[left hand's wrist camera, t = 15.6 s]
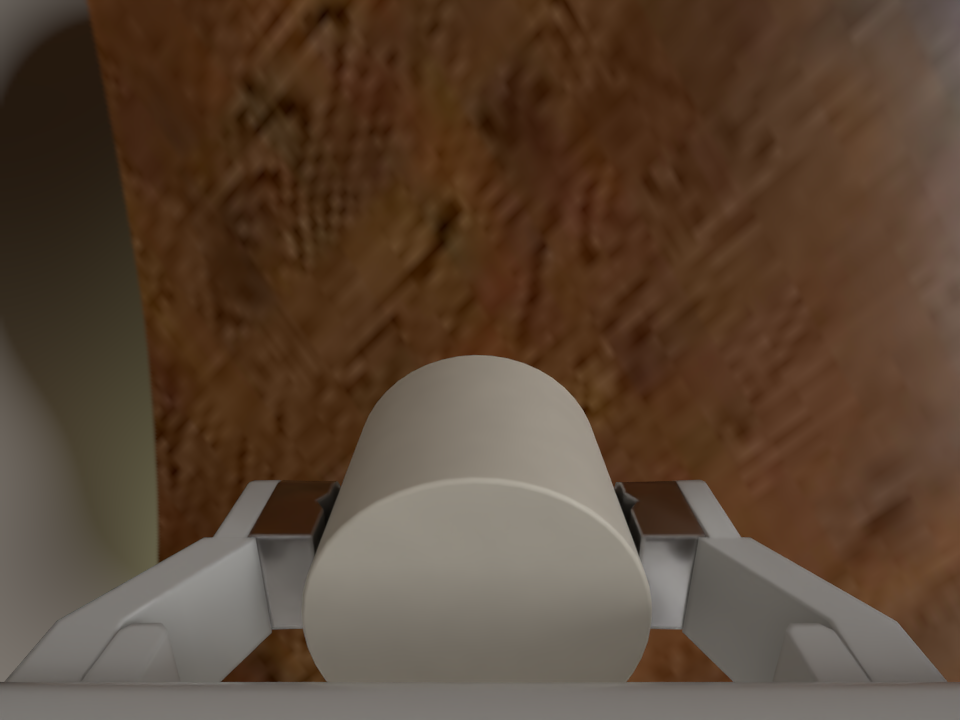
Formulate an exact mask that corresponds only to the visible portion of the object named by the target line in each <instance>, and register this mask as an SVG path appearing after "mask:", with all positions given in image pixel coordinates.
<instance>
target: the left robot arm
mask: <svg viewBox="0 0 960 720" xmlns="http://www.w3.org/2000/svg"><path fill="white" fill-rule="evenodd" d="M340 488H341V487H340V485H339V483H338V481H291V480H283V481H280V480H254V481H252V482H249V483H248V485H247V486H246V488H245V489H244V491H243V492H242V494H241V495H240V497H239V498H238V500H237V501H236V503H235V504H234V506H233V508H232V509H231V511H230V512H229V514H228V515H227V517H226V518H225V520H224V521H223V523H222V524H221V526H220V527H219V529H218V530H217V532H216V533H215V535H214V537H213V538H202V539H201V540H199V541H197V542H195V543H194V544H192V545H190V546H188V547H187V548H185V549H183V550H181V551H179V552H178V553H176V554H174V555H172V556H171V557H169V558H167V559H165V560H164V561H162V562H160V563H158V564H156V565H155V566H153V567H151V568H149V569H148V570H146V571H144V572H142V573H141V574H139V575H137V576H135V577H134V578H132V579H130V580H128V581H126V582H125V583H123V584H121V585H119V586H118V587H116V588H114V589H112V590H111V591H109V592H107V593H105V594H103V595H102V596H100V597H98V598H96V599H95V600H93V601H91V602H89V603H87V604H86V605H84V606H82V607H80V608H79V609H77V610H75V611H73V612H72V613H70V614H68V615H66V616H64V617H63V618H61V619H59V620H57V621H56V622H55V624H54V625H53V626H52V627H51V628H50V630H49V631H48V632H47V633H46V634H45V635H44V637H43V638H42V639H41V640H40V641H39V642H38V643H37V645H36V646H35V647H34V648H33V649H32V650H31V652H30V653H29V654H28V655H27V656H26V657H25V659H24V660H23V661H22V662H21V663H20V664H19V666H18V667H17V668H16V669H15V670H14V671H13V672H12V674H11V675H10V676H9V677H8V678H7V679H6V681H5V682H0V720H960V682H947V681H946V680H945V679H944V677H943V676H942V675H941V674H940V673H939V671H938V670H937V669H936V668H935V667H934V665H933V664H932V663H931V662H930V661H929V659H928V658H927V657H926V656H925V655H924V654H923V652H922V651H921V650H920V649H919V648H918V646H917V645H916V644H915V643H914V642H913V640H912V639H911V638H910V637H909V636H908V634H907V633H906V632H905V631H904V630H903V628H902V627H901V626H900V625H899V624H898V623H897V621H895V620H893V619H891V618H890V617H888V616H886V615H884V614H883V613H881V612H879V611H877V610H876V609H874V608H872V607H870V606H869V605H867V604H865V603H863V602H862V601H860V600H858V599H856V598H855V597H853V596H851V595H849V594H848V593H846V592H844V591H842V590H841V589H839V588H837V587H835V586H834V585H832V584H830V583H828V582H827V581H825V580H823V579H821V578H820V577H818V576H816V575H814V574H813V573H811V572H809V571H807V570H806V569H804V568H802V567H800V566H799V565H797V564H795V563H793V562H792V561H790V560H788V559H786V558H785V557H783V556H781V555H779V554H778V553H776V552H774V551H772V550H771V549H769V548H767V547H765V546H764V545H762V544H760V543H759V542H757V541H755V540H753V539H752V538H741V536H740V535H739V533H738V532H737V530H736V529H735V527H734V526H733V524H732V523H731V521H730V520H729V518H728V516H727V515H726V513H725V512H724V510H723V509H722V507H721V506H720V504H719V503H718V501H717V500H716V498H715V496H714V495H713V493H712V492H711V490H710V489H709V487H708V486H707V484H706V483H705V482H704V481H702V480H680V481H655V482H616V484H615V488H614V490H615V493H616V496H617V498H618V501H619V504H620V506H621V509H622V512H623V514H624V517H625V520H626V523H627V525H628V528H629V531H630V533H631V536H632V539H633V541H634V544H635V547H636V549H637V552H638V555H639V558H640V560H641V563H642V566H643V568H644V571H645V574H646V577H647V580H648V583H649V587H650V594H651V601H652V622H651V627H650V628H652V629H683V631H682V632H683V633H684V634H685V635H686V636H687V637H688V638H689V639H690V640H691V641H692V642H693V643H694V644H695V645H696V646H698V647H699V648H700V649H701V650H702V651H703V652H704V653H705V654H706V655H707V656H708V657H709V658H710V659H711V660H712V661H713V662H714V663H715V664H716V665H717V666H718V667H719V668H720V669H721V670H722V671H723V672H724V673H725V674H726V675H727V676H728V677H729V678H730V679H731V680H732V681H733V682H221V681H222V680H223V679H224V678H225V677H226V676H227V675H228V674H229V673H230V672H231V671H232V670H233V669H234V668H235V667H236V666H237V665H238V664H239V663H240V662H242V661H243V660H244V659H245V658H246V657H247V656H248V655H249V654H250V653H251V652H252V651H253V650H254V649H255V648H256V647H257V646H258V645H259V644H260V643H261V642H262V641H263V640H264V639H265V638H266V637H267V636H269V635H270V634H271V633H272V630H271V629H302V628H303V623H302V612H301V608H302V596H303V590H304V586H305V582H306V578H307V575H308V572H309V569H310V567H311V564H312V562H313V559H314V556H315V554H316V551H317V548H318V546H319V543H320V541H321V538H322V535H323V533H324V530H325V528H326V525H327V522H328V520H329V517H330V514H331V512H332V509H333V507H334V504H335V501H336V499H337V496H338V493H339V491H340Z"/></svg>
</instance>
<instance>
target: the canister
mask: <svg viewBox="0 0 960 720" xmlns="http://www.w3.org/2000/svg"><path fill="white" fill-rule="evenodd" d="M301 612H302V623H303V631H304V635H305V639H306V642H307V646H308V649H309V651H310V653H311V656H312V658H313V660H314V662H315V664H316V666H317V668H318V669H319V671H320V672H321V674H322V675H323V677H324V678H325V680H326V681H327V682H626V681H627V680H628V679H629V677H630V676H631V675H632V674H633V672H634V670H635V668H636V667H637V665H638V663H639V661H640V659H641V658H642V655H643V652H644V650H645V647H646V644H647V642H648V637H649V632H650V627H651V622H652V601H651V594H650V587H649V583H648V580H647V577H646V574H645V571H644V568H643V566H642V563H641V560H640V558H639V555H638V552H637V549H636V547H635V544H634V541H633V539H632V536H631V533H630V531H629V528H628V525H627V523H626V520H625V517H624V514H623V512H622V509H621V506H620V504H619V501H618V498H617V496H616V493H615V490H614V488H613V485H612V482H611V479H610V477H609V474H608V471H607V469H606V466H605V463H604V461H603V458H602V455H601V453H600V450H599V447H598V445H597V442H596V439H595V436H594V434H593V431H592V428H591V426H590V423H589V421H588V419H587V417H586V415H585V413H584V411H583V410H582V408H581V407H580V405H579V404H578V403H577V401H576V400H575V398H574V397H573V396H572V395H571V394H570V393H569V392H568V391H567V390H566V389H565V388H564V387H563V386H562V385H560V384H559V383H558V382H557V381H555V380H554V379H553V378H551V377H550V376H548V375H547V374H545V373H543V372H542V371H540V370H538V369H536V368H533V367H531V366H529V365H527V364H524V363H521V362H518V361H514V360H511V359H507V358H501V357H495V356H482V355H471V356H459V357H453V358H448V359H444V360H440V361H437V362H434V363H431V364H428V365H425V366H423V367H421V368H419V369H417V370H415V371H413V372H411V373H410V374H408V375H407V376H405V377H404V378H402V379H401V380H399V381H398V382H397V383H396V384H394V385H393V386H392V387H391V388H390V389H389V390H388V391H387V392H386V393H385V394H384V395H383V396H382V397H381V399H380V400H379V401H378V402H377V404H376V405H375V407H374V408H373V410H372V411H371V413H370V415H369V417H368V419H367V421H366V423H365V426H364V428H363V431H362V433H361V436H360V438H359V441H358V444H357V446H356V449H355V452H354V454H353V457H352V459H351V462H350V465H349V467H348V470H347V473H346V475H345V478H344V480H343V483H342V486H341V488H340V491H339V493H338V496H337V499H336V501H335V504H334V507H333V509H332V512H331V514H330V517H329V520H328V522H327V525H326V528H325V530H324V533H323V535H322V538H321V541H320V543H319V546H318V548H317V551H316V554H315V556H314V559H313V562H312V564H311V567H310V569H309V572H308V575H307V578H306V582H305V586H304V590H303V596H302V608H301Z"/></svg>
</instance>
